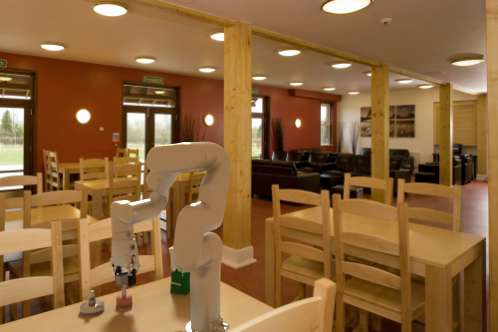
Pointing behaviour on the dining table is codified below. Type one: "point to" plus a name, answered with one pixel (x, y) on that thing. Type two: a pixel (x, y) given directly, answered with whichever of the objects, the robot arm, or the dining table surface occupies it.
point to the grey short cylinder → (122, 278)
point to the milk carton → (178, 278)
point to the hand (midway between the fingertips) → (125, 283)
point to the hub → (92, 306)
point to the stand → (124, 299)
